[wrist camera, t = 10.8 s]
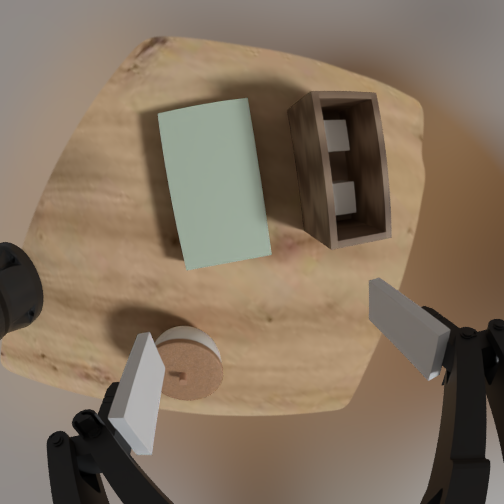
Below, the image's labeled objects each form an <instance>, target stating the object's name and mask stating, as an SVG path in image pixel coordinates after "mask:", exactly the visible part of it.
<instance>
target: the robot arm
mask: <svg viewBox="0 0 504 504" xmlns="http://www.w3.org/2000/svg"><path fill="white" fill-rule="evenodd" d="M42 306H43V290H42V285H41V281H40V278H39V275H38V273H37V270H36V268H35V266H34V265H33V263H32V261H31V260H30V258H29V257H28V256H27V255H26V253H25V252H24V251H23V250H22V249H20V248H19V247H18V246H16V245H14V244H12V243H8V242H3V243H0V340H1V339H2V338H3V337H4V336H5V335H6V334H7V333H9V332H12V331H15V330H18V329H21V328H24V327H27V326H29V325H30V324H31V323H32V322H33V321H34V320H35V319H36V318H37V317H38V316H39V315H40V313H41V310H42ZM369 320H370V321H371V322H372V323H373V324H374V325H375V326H376V327H377V328H378V329H379V330H380V331H381V332H382V333H383V334H384V335H385V336H386V337H387V338H388V339H389V340H390V341H391V342H392V343H393V344H394V345H395V346H396V347H397V348H398V349H399V350H400V351H401V352H402V354H404V356H405V357H406V358H407V359H408V360H409V361H410V362H411V363H412V364H413V365H414V366H415V367H416V368H417V369H418V370H419V371H420V372H421V373H422V374H423V376H424V377H425V378H426V379H427V380H428V381H429V380H431V379H433V378H434V377H436V376H438V375H439V374H440V371H441V368H442V366H444V367H445V368H446V373H445V376H444V380H443V382H442V385H444V397H443V407H442V416H441V424H440V431H439V437H438V443H437V448H436V454H435V458H434V463H433V468H432V472H431V476H430V480H429V484H428V487H427V490H426V492H425V494H424V496H423V499H422V501H421V503H420V504H485V501H486V495H487V489H488V483H489V475H490V461H489V460H488V459H486V458H485V449H486V395H487V398H488V401H489V405H490V408H491V411H492V414H493V418H494V422H495V425H496V429H497V433H498V437H499V442H500V446H501V451H502V456H503V461H504V321H503V320H501V319H494V320H491V321H490V322H489V324H488V328H487V330H483V331H479V332H477V331H476V330H475V329H473V328H470V327H463V328H458V327H457V326H456V325H454V324H453V323H452V322H450V321H449V320H448V319H446V318H445V317H443V316H442V315H441V314H439V313H438V312H436V311H435V310H434V309H432V308H429V307H426V306H423V307H420V306H418V305H417V304H416V303H414V302H413V301H411V300H410V299H409V298H407V297H406V296H405V295H403V294H402V293H400V292H399V291H398V290H396V289H395V288H393V287H392V286H391V285H389V284H388V283H386V282H385V281H383V280H382V279H381V278H376V279H373V280H370V281H369ZM164 374H165V366H164V364H163V362H162V360H161V357H160V355H159V353H158V350H157V348H156V346H155V343H154V341H153V339H152V336H151V334H150V332H146V333H140V334H138V335H137V337H136V340H135V342H134V345H133V348H132V350H131V353H130V355H129V358H128V361H127V363H126V366H125V369H124V372H123V374H122V377H121V380H120V382H113V383H112V384H111V385H110V386H109V388H108V389H107V391H106V393H105V396H104V397H105V398H104V399H103V402H102V404H101V407H100V410H99V412H98V414H97V413H96V412H95V411H94V410H90V409H88V410H83V411H80V412H79V413H78V414H76V415H75V417H74V418H73V421H72V426H73V428H74V429H75V430H76V431H77V432H78V434H79V435H78V436H74V437H69V436H68V435H67V434H66V433H65V432H63V431H57V432H55V433H53V434H52V435H51V436H49V438H48V440H47V458H48V468H49V478H50V486H51V493H52V499H53V504H109V501H108V498H107V495H106V492H105V489H104V486H103V483H102V480H101V477H100V473H103V475H104V476H105V478H106V479H107V481H108V482H109V484H110V485H111V487H112V488H113V490H114V491H115V493H116V494H117V495H118V497H119V498H120V499H121V501H122V502H123V503H124V504H174V503H173V502H172V501H171V500H170V499H169V498H168V497H167V496H166V495H165V494H164V493H163V492H162V491H161V490H160V489H159V488H158V487H157V486H156V485H155V483H154V482H153V481H152V480H151V479H150V478H149V477H148V476H147V474H146V473H145V472H144V471H143V470H142V469H141V467H140V466H139V465H138V464H137V463H136V461H135V460H134V459H133V458H132V457H131V455H130V452H131V448H132V450H133V451H134V452H135V453H136V454H137V455H152V449H153V442H154V435H155V428H156V421H157V415H158V408H159V402H160V396H161V390H162V385H163V379H164Z"/></svg>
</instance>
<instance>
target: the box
mask: <svg viewBox="0 0 504 504" xmlns="http://www.w3.org/2000/svg"><path fill="white" fill-rule="evenodd" d="M287 111H288V117H289V123H290V129H291V136H292V142H293V148H294V155H295V162H296V169H297V176H298V183H299V191H300V199H301V207H302V215H303V224H304V231H305V232H307V233H308V234H310V235H311V236H313V237H314V238H315V239H317V240H318V241H320V242H321V243H323V244H324V245H325V246H327V247H328V248H330V249H331V250H333V249H338V248H343V247H348V246H353V245H358V244H363V243H368V242H373V241H378V240H382V239H387V238H391V207H390V191H389V178H388V168H387V159H386V150H385V143H384V136H383V129H382V123H381V117H380V111H379V106H378V100H377V95H376V93H372V92H352V91H311V92H309V93H308V94H307V95H306V96H304V97H303V98H302V99H301V100H299V101H298V102H297V103H296V104H294V105H293V106H292V107H291V108H289V109H288V110H287ZM323 120H345V121H346V127H347V134H348V140H349V147H350V150H349V151H341V152H330V153H328V146H327V139H326V133H325V127H324V121H323ZM337 180H344V181H354V190H355V201H356V212H355V213H348V214H342V215H336V214H335V203H334V194H333V185H332V181H337Z"/></svg>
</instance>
